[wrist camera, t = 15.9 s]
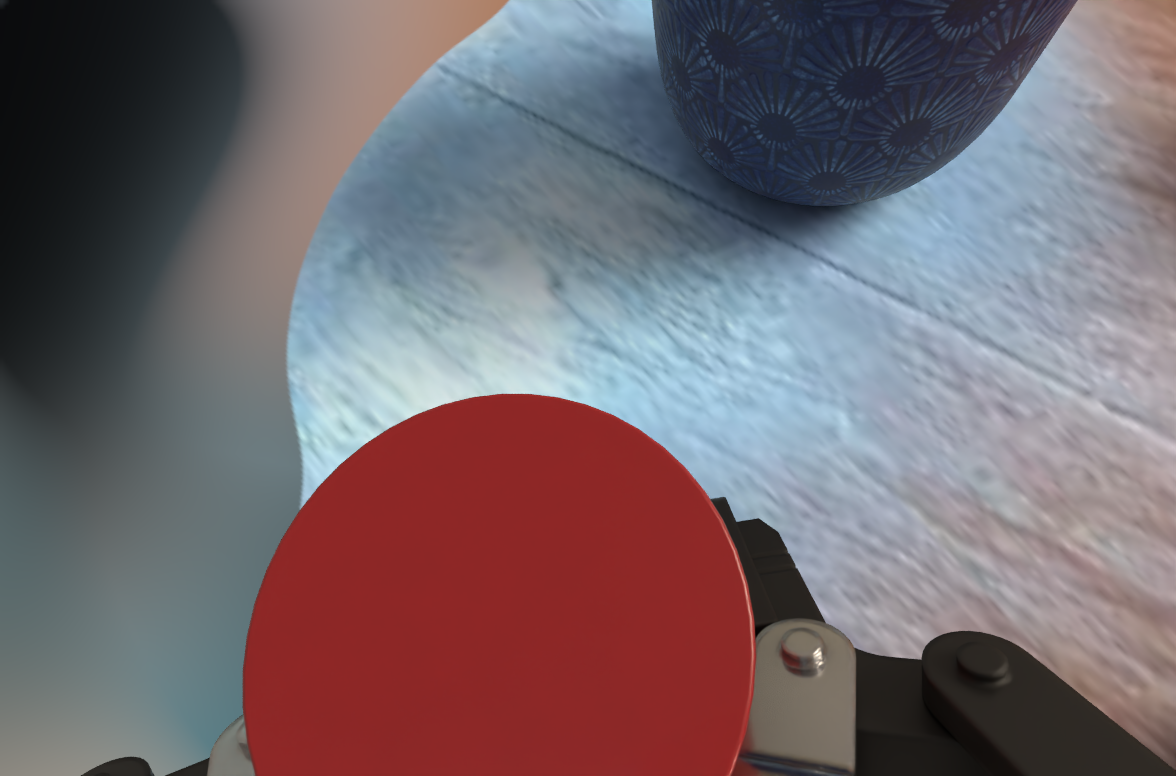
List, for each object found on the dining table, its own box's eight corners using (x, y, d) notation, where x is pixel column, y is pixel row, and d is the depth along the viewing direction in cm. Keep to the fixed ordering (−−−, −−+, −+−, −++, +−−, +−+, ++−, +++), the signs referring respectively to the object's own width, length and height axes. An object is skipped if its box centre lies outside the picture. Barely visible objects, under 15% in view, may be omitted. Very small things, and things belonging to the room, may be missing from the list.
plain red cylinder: (721, 612, 18) (815, 474, 7) (658, 827, 16) (655, 1082, 5) (542, 545, 19) (389, 340, 8) (464, 737, 17) (136, 794, 6)
